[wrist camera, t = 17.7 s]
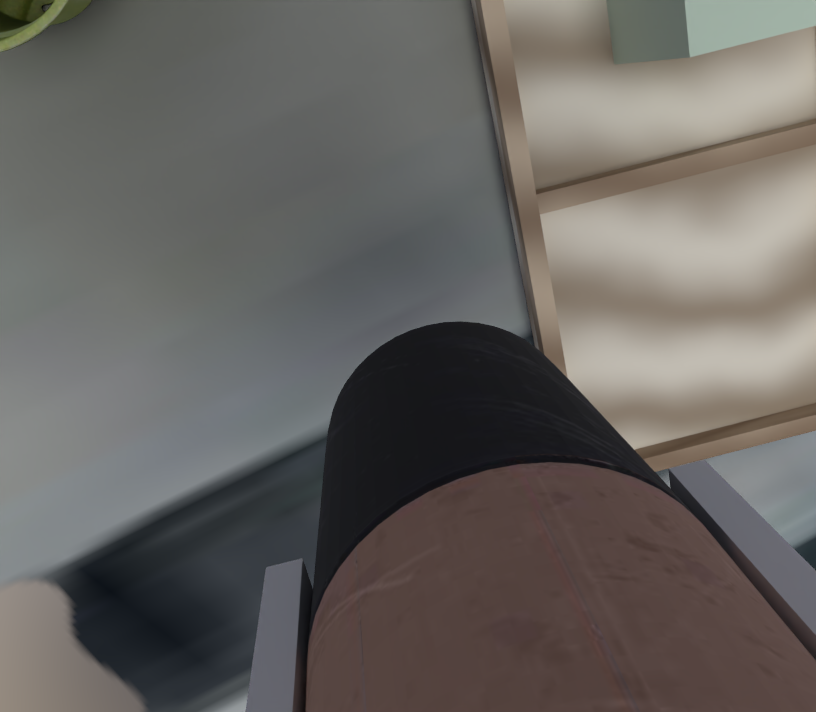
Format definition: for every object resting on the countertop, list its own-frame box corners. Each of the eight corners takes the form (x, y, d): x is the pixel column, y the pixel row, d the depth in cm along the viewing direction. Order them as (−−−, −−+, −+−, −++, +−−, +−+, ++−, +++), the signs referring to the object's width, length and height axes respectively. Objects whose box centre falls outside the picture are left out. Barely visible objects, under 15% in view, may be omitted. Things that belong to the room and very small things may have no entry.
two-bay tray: (440, -166, 32) (447, -184, 30) (813, -259, 32) (846, -283, 30) (558, 474, 44) (569, 493, 42) (833, 404, 44) (858, 419, 42)
